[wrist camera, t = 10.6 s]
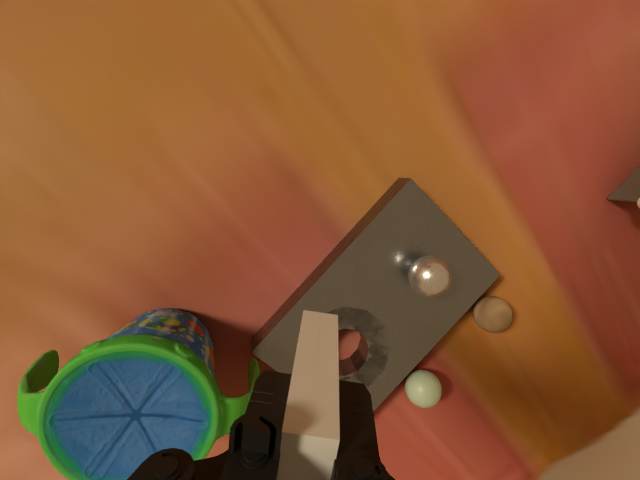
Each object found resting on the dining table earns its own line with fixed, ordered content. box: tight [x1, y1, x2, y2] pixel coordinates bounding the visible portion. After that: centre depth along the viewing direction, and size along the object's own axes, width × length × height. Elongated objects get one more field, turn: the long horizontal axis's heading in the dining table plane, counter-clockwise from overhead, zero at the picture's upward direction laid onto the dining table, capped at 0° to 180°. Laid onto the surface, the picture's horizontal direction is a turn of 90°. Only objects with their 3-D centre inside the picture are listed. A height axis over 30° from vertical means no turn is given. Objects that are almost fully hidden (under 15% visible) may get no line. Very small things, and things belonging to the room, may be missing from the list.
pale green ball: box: [405, 370, 442, 408], centre depth 35 cm, size 4×4×4 cm
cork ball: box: [473, 296, 513, 332], centre depth 35 cm, size 4×4×4 cm
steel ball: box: [408, 256, 451, 297], centre depth 30 cm, size 4×4×4 cm
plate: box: [251, 178, 501, 412], centre depth 33 cm, size 20×13×2 cm, turn 137°
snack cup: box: [17, 308, 260, 480], centre depth 27 cm, size 16×10×10 cm
